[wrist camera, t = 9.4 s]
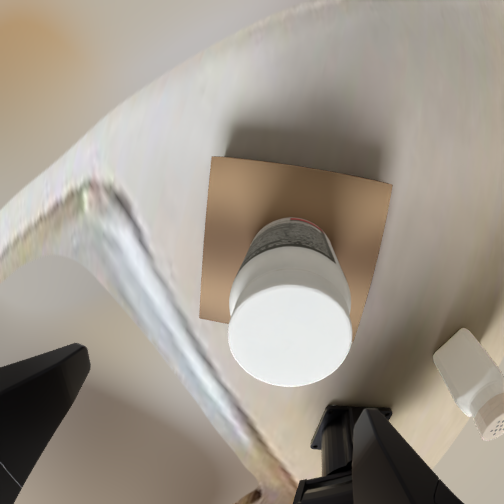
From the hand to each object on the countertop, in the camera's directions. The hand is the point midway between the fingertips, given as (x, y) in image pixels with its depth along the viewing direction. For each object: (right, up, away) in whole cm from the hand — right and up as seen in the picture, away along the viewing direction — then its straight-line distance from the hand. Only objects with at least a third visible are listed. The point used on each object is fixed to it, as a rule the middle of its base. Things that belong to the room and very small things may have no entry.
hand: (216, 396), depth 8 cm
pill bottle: (+3, +4, +9) cm, 10 cm away
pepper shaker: (+19, -4, +13) cm, 23 cm away
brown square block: (+4, +5, +12) cm, 13 cm away
